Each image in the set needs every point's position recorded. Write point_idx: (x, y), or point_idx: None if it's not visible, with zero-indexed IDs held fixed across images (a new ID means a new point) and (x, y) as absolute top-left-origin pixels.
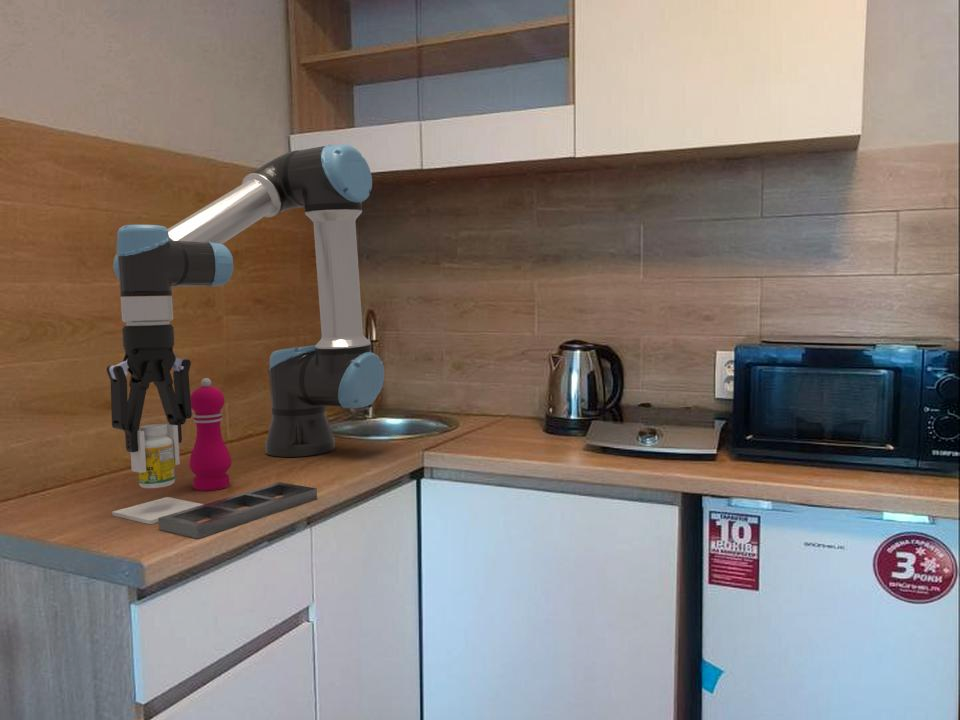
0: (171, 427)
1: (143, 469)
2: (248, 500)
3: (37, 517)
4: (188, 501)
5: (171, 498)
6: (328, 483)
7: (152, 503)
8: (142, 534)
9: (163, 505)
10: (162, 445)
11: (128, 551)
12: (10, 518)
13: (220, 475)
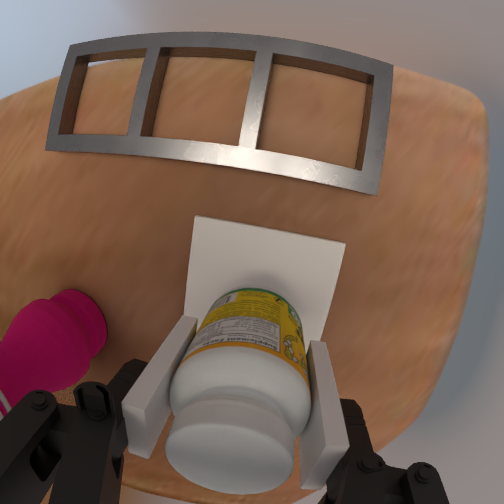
0: (148, 416)
1: (321, 346)
2: (147, 125)
3: None
4: (189, 275)
5: None
6: (7, 120)
7: None
8: (400, 206)
9: None
10: (263, 355)
11: (471, 158)
12: None
13: (62, 305)
